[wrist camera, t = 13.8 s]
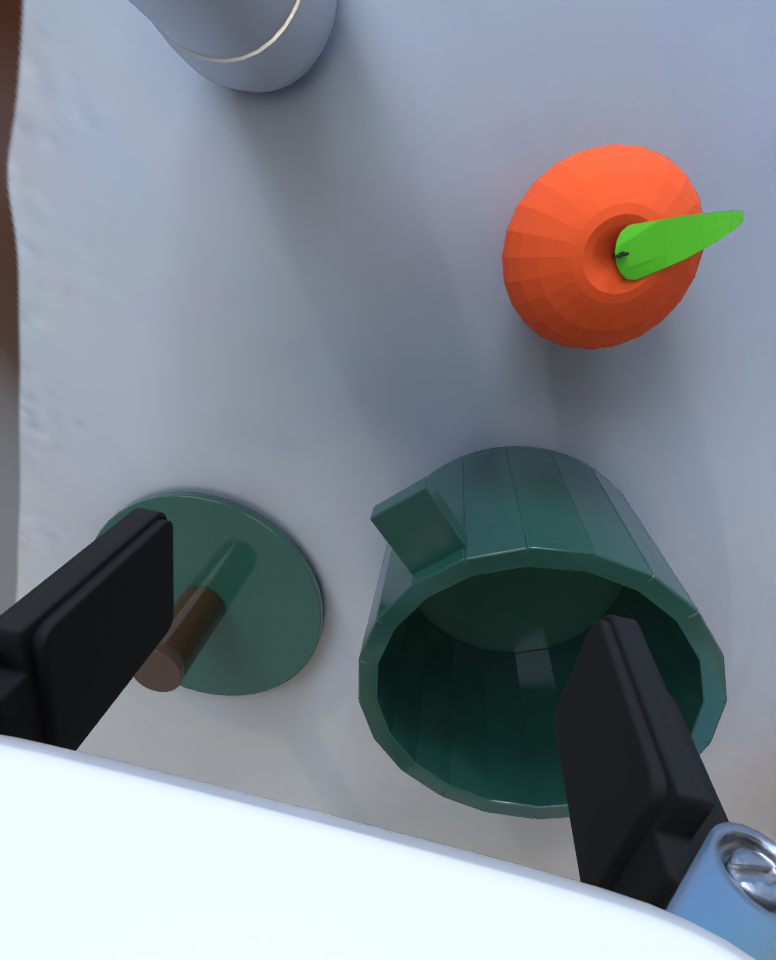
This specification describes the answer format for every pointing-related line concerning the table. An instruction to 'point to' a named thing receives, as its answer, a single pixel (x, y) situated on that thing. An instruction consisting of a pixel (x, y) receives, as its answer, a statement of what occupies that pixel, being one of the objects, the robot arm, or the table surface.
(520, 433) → the table surface
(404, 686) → the pot
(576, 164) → the clementine
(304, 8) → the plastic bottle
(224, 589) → the pot lid
